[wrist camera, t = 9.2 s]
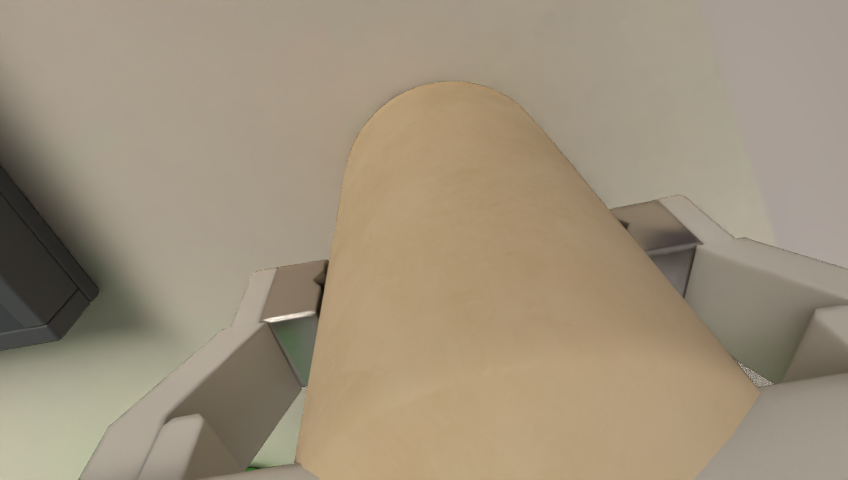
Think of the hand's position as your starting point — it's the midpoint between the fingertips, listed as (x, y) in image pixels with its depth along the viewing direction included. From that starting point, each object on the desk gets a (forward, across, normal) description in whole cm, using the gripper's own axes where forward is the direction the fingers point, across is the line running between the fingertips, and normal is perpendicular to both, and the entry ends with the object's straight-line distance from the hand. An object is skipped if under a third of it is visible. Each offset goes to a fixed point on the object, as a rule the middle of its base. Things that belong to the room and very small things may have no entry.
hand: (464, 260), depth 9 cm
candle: (+4, 0, 0) cm, 4 cm away
